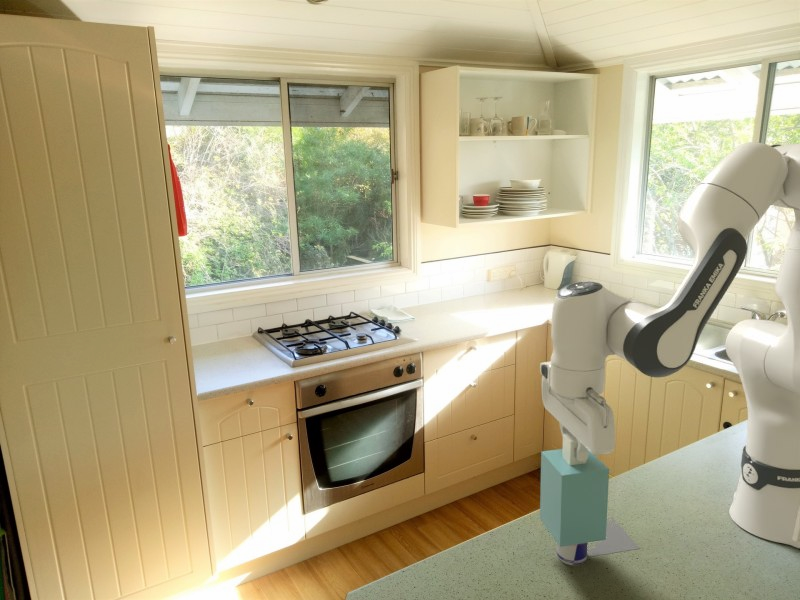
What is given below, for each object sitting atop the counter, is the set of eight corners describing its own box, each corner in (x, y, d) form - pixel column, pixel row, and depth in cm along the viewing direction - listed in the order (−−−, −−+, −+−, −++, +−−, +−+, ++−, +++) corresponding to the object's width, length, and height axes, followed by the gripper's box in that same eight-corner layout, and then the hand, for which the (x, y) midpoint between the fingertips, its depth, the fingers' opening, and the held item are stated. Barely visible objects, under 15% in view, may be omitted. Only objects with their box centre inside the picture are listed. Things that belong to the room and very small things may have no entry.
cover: (582, 512, 112) (586, 423, 108) (605, 539, 104) (610, 445, 100) (540, 518, 111) (541, 429, 106) (559, 546, 102) (562, 451, 98)
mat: (612, 518, 119) (612, 517, 119) (640, 549, 110) (640, 548, 110) (565, 525, 118) (565, 524, 118) (589, 558, 108) (589, 556, 108)
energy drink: (566, 569, 105) (567, 509, 103) (550, 551, 110) (552, 493, 108) (592, 563, 107) (595, 503, 104) (576, 545, 112) (578, 487, 109)
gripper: (627, 400, 91) (623, 481, 94) (568, 357, 111) (566, 426, 114) (589, 404, 90) (586, 486, 93) (535, 361, 110) (534, 430, 113)
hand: (574, 453), depth 104 cm, fingers closed on cover, 3 cm apart
